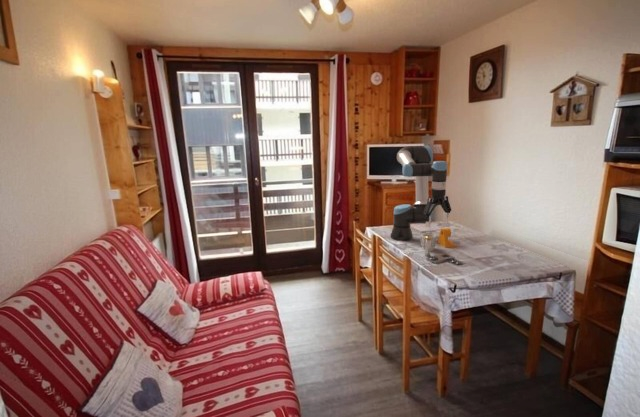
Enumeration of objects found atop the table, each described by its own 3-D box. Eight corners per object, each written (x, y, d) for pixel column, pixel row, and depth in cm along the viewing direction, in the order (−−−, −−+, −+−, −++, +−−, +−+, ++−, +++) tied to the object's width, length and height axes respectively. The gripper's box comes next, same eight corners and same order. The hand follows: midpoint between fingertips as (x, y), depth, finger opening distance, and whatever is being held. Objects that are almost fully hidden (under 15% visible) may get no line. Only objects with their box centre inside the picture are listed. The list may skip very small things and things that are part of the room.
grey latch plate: (436, 259, 186) (436, 256, 186) (445, 257, 189) (445, 254, 189) (456, 268, 173) (456, 264, 173) (465, 265, 176) (466, 262, 176)
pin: (422, 257, 190) (423, 236, 187) (427, 255, 192) (428, 235, 189) (427, 259, 187) (428, 238, 184) (432, 258, 188) (433, 237, 185)
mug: (415, 248, 205) (415, 233, 203) (425, 246, 208) (426, 231, 206) (427, 254, 195) (428, 238, 193) (438, 251, 198) (439, 236, 196)
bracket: (456, 248, 202) (457, 230, 200) (444, 249, 202) (446, 231, 199) (448, 243, 213) (449, 226, 210) (437, 244, 213) (438, 226, 210)
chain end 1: (445, 255, 189) (445, 252, 188) (454, 259, 183) (455, 255, 182) (425, 259, 182) (425, 256, 182) (434, 264, 176) (434, 260, 176)
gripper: (427, 191, 172) (425, 229, 176) (459, 187, 183) (457, 223, 187) (417, 190, 178) (415, 226, 183) (448, 185, 189) (446, 220, 194)
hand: (436, 225), depth 185 cm, fingers open, 13 cm apart
